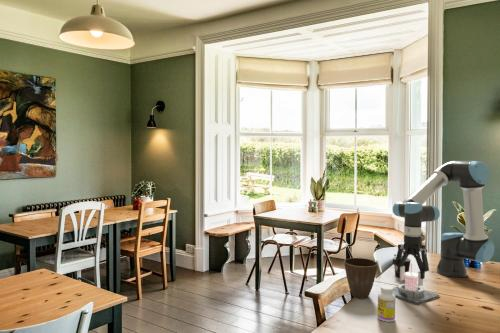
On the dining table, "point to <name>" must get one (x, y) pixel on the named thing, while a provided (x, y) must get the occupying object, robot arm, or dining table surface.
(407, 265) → the coffee mug
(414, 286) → the beverage cup
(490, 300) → the dining table surface
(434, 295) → the sleeve block
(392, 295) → the supplement bottle
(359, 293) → the plant pot
